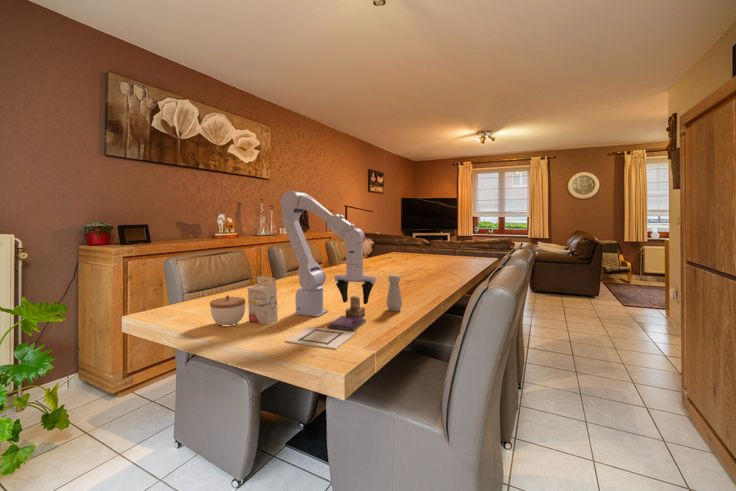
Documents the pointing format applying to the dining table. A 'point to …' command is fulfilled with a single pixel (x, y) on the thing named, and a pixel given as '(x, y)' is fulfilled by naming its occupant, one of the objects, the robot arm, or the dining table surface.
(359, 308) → the stamp
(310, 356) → the dining table surface
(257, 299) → the ink cartridge box
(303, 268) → the robot arm
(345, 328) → the ink pad
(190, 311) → the dining table surface
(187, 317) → the dining table surface
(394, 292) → the salt shaker
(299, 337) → the marked sheet
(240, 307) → the lidded jar
